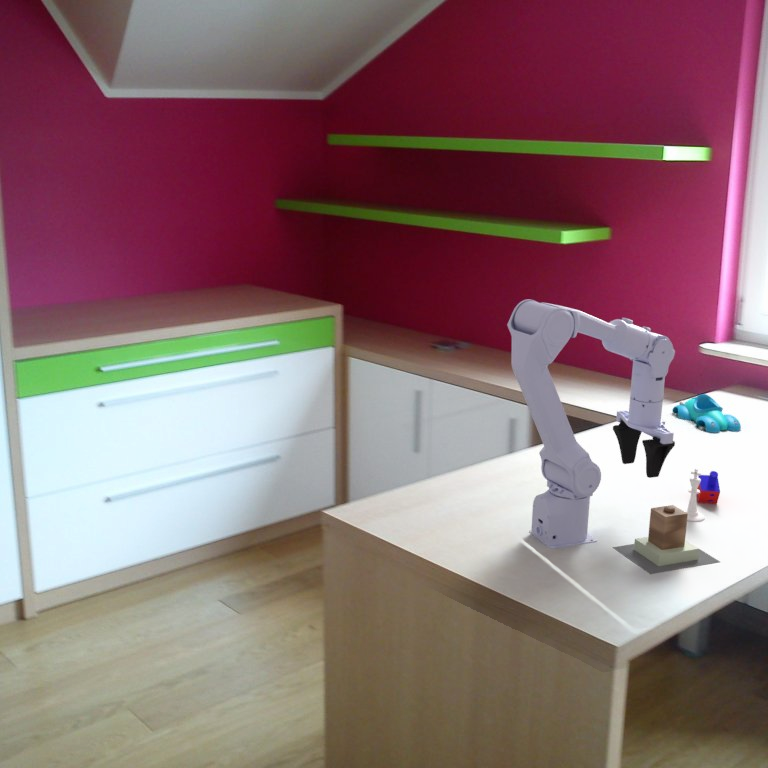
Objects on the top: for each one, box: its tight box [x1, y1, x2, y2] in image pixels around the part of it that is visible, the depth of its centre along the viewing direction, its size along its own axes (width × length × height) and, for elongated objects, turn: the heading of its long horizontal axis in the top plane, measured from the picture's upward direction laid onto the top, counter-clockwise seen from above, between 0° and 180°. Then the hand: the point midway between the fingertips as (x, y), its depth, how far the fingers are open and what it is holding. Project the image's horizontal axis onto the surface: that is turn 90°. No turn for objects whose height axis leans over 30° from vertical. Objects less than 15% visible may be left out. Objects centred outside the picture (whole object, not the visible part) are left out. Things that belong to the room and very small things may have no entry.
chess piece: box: [683, 468, 706, 523], centre depth 184 cm, size 5×5×10 cm
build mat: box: [612, 543, 721, 575], centre depth 169 cm, size 14×11×1 cm
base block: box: [633, 536, 700, 566], centre depth 169 cm, size 8×7×2 cm
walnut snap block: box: [647, 504, 688, 550], centre depth 167 cm, size 4×4×6 cm
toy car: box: [672, 393, 742, 434], centre depth 246 cm, size 11×18×7 cm, turn 15°
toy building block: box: [696, 470, 721, 505], centre depth 194 cm, size 4×4×8 cm
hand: (640, 469), depth 181 cm, fingers open, 7 cm apart
